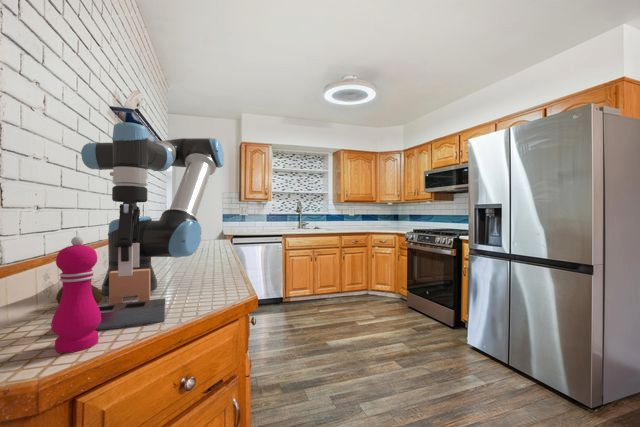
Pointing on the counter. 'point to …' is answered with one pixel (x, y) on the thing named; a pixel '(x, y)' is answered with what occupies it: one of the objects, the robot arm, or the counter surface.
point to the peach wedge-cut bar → (129, 285)
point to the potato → (95, 293)
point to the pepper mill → (76, 299)
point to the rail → (131, 313)
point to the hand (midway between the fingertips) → (129, 271)
